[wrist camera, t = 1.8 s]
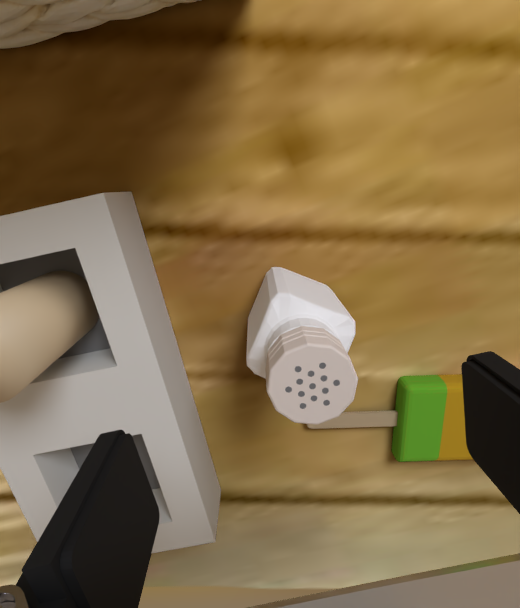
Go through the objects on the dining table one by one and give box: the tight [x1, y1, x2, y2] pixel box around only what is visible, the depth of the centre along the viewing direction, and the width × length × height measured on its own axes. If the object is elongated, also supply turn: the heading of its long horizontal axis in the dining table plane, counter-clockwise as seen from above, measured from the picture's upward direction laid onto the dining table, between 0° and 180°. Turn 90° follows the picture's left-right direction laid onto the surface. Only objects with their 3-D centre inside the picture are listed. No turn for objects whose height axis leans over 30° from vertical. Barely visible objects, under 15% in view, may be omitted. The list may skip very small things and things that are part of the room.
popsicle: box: [307, 374, 473, 462], centre depth 24 cm, size 6×15×2 cm, turn 91°
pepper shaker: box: [246, 267, 358, 425], centre depth 18 cm, size 4×4×10 cm
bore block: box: [0, 192, 221, 553], centre depth 20 cm, size 10×20×8 cm, turn 12°
